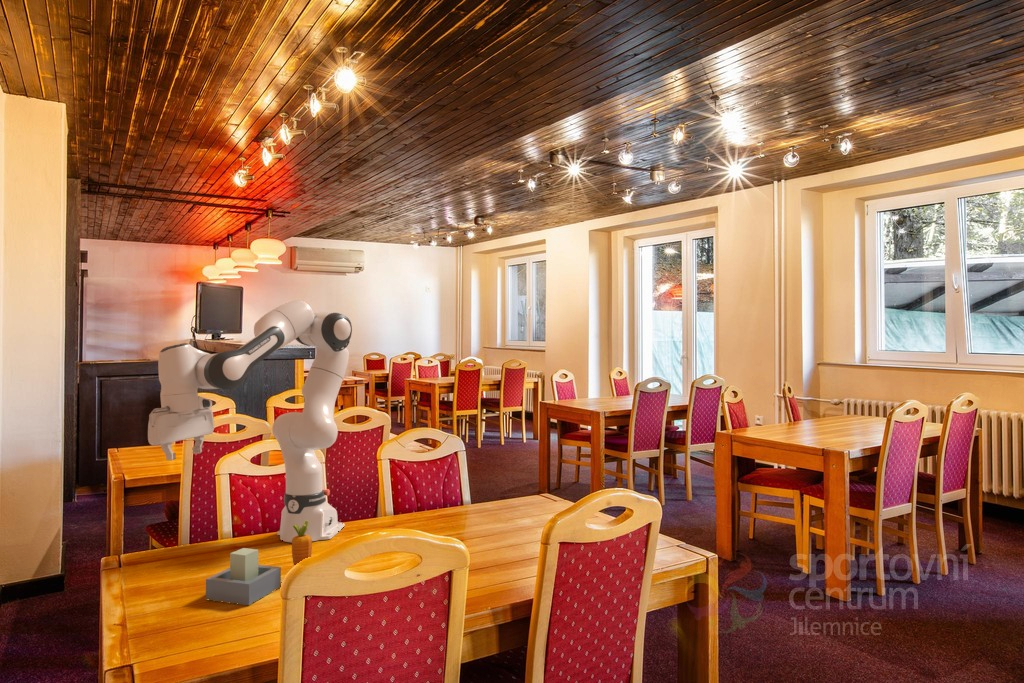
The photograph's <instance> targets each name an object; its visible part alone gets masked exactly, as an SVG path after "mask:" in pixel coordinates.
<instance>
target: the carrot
mask: <svg viewBox="0 0 1024 683" xmlns="http://www.w3.org/2000/svg"><path fill="white" fill-rule="evenodd" d="M307 525H308V521H307V520H306V521H305V524H303V526H302V528H300V529H299V526H298V525H297V524H296V525H293V527H294V529H295V530H296V532H297V534H298V535H297V536H295V537H294V538H293V539H292V542H291V553H292V554H291V555H292V562H293V563H292V564H293V566H294V565H296V564H297V563H299V562H300V561H302V560H303V559H305V558H308V557H311V558H312V551H313V550H312V547H313V541H312V538H311V537H310V536H309V535H307V534H305V532H306V530H307V529H308V528H307Z"/></svg>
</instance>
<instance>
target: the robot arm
mask: <svg viewBox="0 0 1024 683" xmlns="http://www.w3.org/2000/svg"><path fill="white" fill-rule="evenodd" d="M352 327H353V326H352V322H351V320H350V318H348V317H347V316H346V315H344V314H342V313H339V312H325V311H322V312H321V311H319V312H314V310H313V309H312V307H311V306H310V304H308V303H307V302H306V301H304V300H301V299H295V300H291V301H288V302H286V303H284V304H281V305H279V306H278V307H276V308H274V309H272V310H271V311H268V312H267V313H266V314H264V315H263V316H261V317H260V318H259V319H258V320H257V321H256V322H255V324H254V326H253V334H254V337H253V338H252V339H250V340H249V341H248V342H246V343H244V344H243V345H241V346H240V347H239V348H237V349H234V350H227V351H221V352H218V353H209V352H205V351H203V350H200V349H198V348H196V347H194V346H192V345H191V343H185V342H184V343H178V344H173V345H169V346H166V347H164V348H162V349H161V350H160V351H159V354H158V360H157V361H158V363H157V364H158V367H157V368H158V380H159V383H160V385H161V386H160V387H161V388H160V393H159V394H160V405H161V407H157V408H153V410H151V412H150V413H149V415H148V417H149V418H148V424H147V440H148V443H149V445H150V446H160V447H161V448H160V449H161V450H162V451H163V453H164V454H165V459H166V461H174V460H176V459H177V455H176V452H174V451H173V449H172V447H173V443H175V442H180V441H184V440H190V439H193V440H194V441H195V443H194V445H193V447H192V454H193V455H197V454H201V453H202V452H203V450H202V447H203V443H204V441H205V436H208V435H212V434H213V433H214V430H215V419H214V418H215V417H214V413H213V410H212V409H211V408H212V406H213V401H212V400H211V399H209V398H207V397H206V398H205V397H203V396H200V395H199V394H198V389H202V390H216V389H217V390H218V389H219V390H220V389H221V390H232V389H235V388H237V387H239V386H240V385H241V384H242V383H243V382H245V379H247V378H246V377H247V376H248V375H249V373H250V371H251V370H252V369H253V368H255V366H257V365H258V364H260V362H262V361H263V360H265V359H266V358H267V357H268V356H270V355H271V354H273V353H274V352H275V351H277V350H279V349H281V348H283V347H285V346H287V345H288V344H291V343H292V342H293V341H297V343H300V344H301V345H304V346H308V347H309V346H312V347H315V351H316V352H315V357H314V360H313V362H312V363H311V366H310V367H309V370H308V373H307V376H306V378H305V381H304V383H303V386H302V388H301V394H302V397H303V399H304V400H303V402H304V404H303V409H302V411H301V412H298V411H292V412H287V413H286V412H285V413H283V414H281V415H279V416H277V417H276V419H275V420H274V422H273V424H272V428H271V429H272V435H273V437H274V439H276V440H275V441H277V443H278V445H279V447H280V450H281V451H280V452H281V454H282V459H283V462H284V467H285V492H284V496H283V504H284V507H283V508H282V510H281V517H280V518H281V519H280V526H279V530H277V534H276V535H277V536H278V535H280V536H279V539H280V540H281V541H282V540H283V541H282V542H286V543H292V539H293V538H294V537H295V536H297V535H298V534H297V532H296V530H295V529H294V527H293V525H296V524H297V525H298V526H299V529H300V528H302V526H303V524H305V521H306V520H307V521H308V525H307V528H308V529H307V530H306V532H305V534H307V535H309V536H310V537H311V538H312V542H316V541H325V540H330V539H332V538H333V537H335V536H336V535H337V534H338V533H339V532H340V531H342V530H343V529H344V528H345V527H346V525H345V523H344V522H341V521H338V511H337V509H336V508H335V507H333V506H332V505H331V504H330V503H328V501H326V500H327V498H326V496H330V494H331V490H330V489H328V488H327V489H325V488H323V464H322V463H321V462H320V460H319V459H318V457H317V455H316V451H317V450H325V449H328V448H330V447H332V446H333V444H335V443H336V441H337V439H338V434H339V430H338V428H339V427H338V426H337V423H336V421H335V405H336V401H337V397H338V395H339V393H340V389H341V386H342V384H343V381H344V379H345V375H346V373H347V369H348V365H349V361H350V352H349V349H348V348H347V347H348V346H349V344H350V340H351V338H352V334H353V333H352V331H353V328H352ZM342 523H343V524H342ZM344 526H345V527H344ZM343 527H344V528H343ZM342 528H343V529H342ZM341 529H342V530H341ZM338 531H339V532H338Z"/></svg>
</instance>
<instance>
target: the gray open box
mask: <svg viewBox="0 0 1024 683" xmlns="http://www.w3.org/2000/svg"><path fill="white" fill-rule="evenodd" d="M281 576H282V567H281V566H273V565H265V564H264V565H263V564H258V576H257V577H255V578H253V579H251V580H250V581H241V580H232V579H230V567H229V568H226V569H224V570H222V571H219V572H218V573H215V574H213V575H211V576H210V577H207V578H206V579H205V600H206V599H209V600H215V601H223V602H230V603H238V604H244V605H243V606H246V605H250V604H251V605H253V604H254V603H253V602H255V601H257V600H258V601H260V600H261V599H260V598H262V597H263V598H265V597H267V596H268V595H270V594H271V593H270V592H272V591H274V590H275V589H277V588H279V589H280V588H281V587H280V584H281V585H282V583H281V581H282V577H281ZM277 590H278V589H277ZM275 591H276V590H275ZM275 591H274V592H275ZM269 593H270V594H269ZM272 593H273V592H272ZM267 594H268V595H267ZM266 595H267V596H266ZM264 596H265V597H264ZM263 598H262V599H263ZM259 599H260V600H259ZM215 601H214V602H215ZM258 601H257V602H258ZM230 603H229V604H230ZM252 603H253V604H252ZM255 603H256V602H255ZM238 604H237V605H238ZM251 605H250V606H251Z"/></svg>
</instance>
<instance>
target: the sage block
mask: <svg viewBox="0 0 1024 683" xmlns="http://www.w3.org/2000/svg"><path fill="white" fill-rule="evenodd" d="M258 565H259V549H254V548H246V547H242V548H240V549H238V550H235V551H232V552H230V554H229V568H230V579H232V580H241V581H250V580H251V579H253V578H255V577H257V576H258Z"/></svg>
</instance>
